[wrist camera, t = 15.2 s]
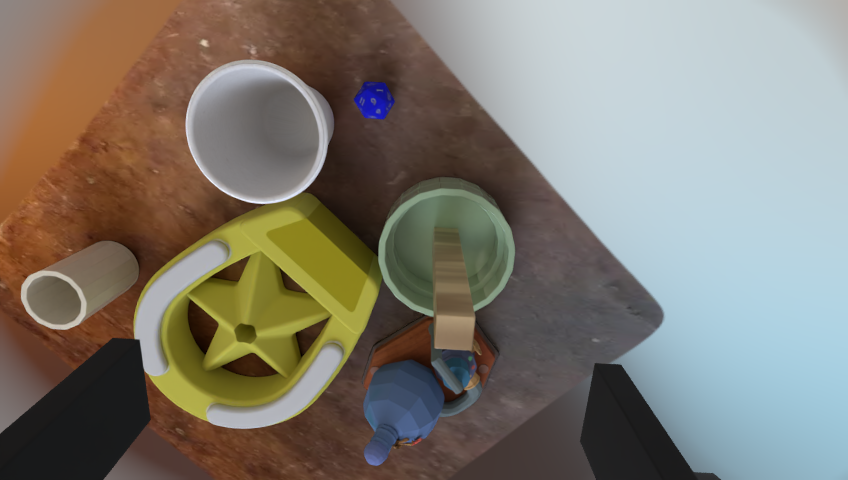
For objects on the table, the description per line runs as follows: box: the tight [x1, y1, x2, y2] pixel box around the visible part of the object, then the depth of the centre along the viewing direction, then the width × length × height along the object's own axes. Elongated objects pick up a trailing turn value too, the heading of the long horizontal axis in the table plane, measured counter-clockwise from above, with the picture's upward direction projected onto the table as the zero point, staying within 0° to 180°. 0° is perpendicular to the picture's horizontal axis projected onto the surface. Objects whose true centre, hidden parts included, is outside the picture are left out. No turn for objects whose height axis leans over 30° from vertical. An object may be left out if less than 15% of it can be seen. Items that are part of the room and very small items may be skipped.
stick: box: [432, 227, 475, 351], centre depth 34 cm, size 2×2×16 cm
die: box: [354, 82, 395, 119], centre depth 37 cm, size 3×3×3 cm
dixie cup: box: [186, 60, 334, 204], centre depth 34 cm, size 8×8×10 cm
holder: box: [21, 241, 139, 330], centre depth 40 cm, size 5×5×7 cm
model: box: [361, 315, 499, 466], centre depth 41 cm, size 12×9×9 cm
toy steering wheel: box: [134, 192, 383, 429], centre depth 42 cm, size 16×21×5 cm
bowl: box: [378, 177, 515, 317], centre depth 39 cm, size 10×10×5 cm
